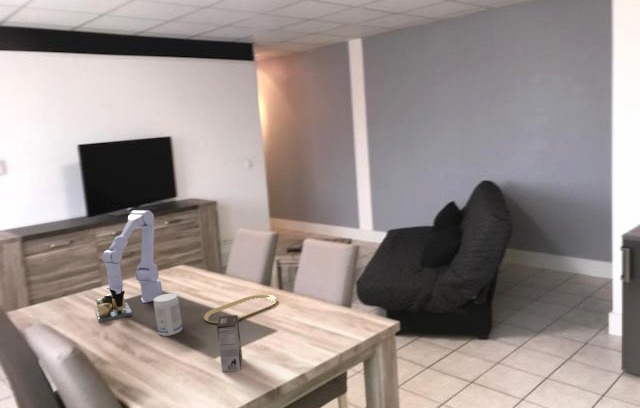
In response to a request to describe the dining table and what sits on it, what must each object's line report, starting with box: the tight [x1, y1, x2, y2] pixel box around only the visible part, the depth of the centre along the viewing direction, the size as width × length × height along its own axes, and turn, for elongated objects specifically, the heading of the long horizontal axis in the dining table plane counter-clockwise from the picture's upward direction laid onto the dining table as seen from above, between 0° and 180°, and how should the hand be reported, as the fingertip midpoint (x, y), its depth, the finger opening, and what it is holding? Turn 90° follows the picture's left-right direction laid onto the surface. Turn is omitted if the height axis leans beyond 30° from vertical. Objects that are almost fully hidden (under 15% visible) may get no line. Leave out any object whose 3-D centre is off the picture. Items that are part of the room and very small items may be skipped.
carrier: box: [94, 301, 133, 323], centre depth 233 cm, size 14×16×7 cm
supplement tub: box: [153, 293, 183, 337], centre depth 205 cm, size 10×10×15 cm
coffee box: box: [216, 314, 243, 373], centre depth 171 cm, size 9×6×16 cm
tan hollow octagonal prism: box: [112, 295, 126, 311], centre depth 231 cm, size 5×5×5 cm
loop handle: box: [203, 294, 278, 325], centre depth 225 cm, size 19×35×2 cm, turn 135°
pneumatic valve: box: [95, 292, 113, 307], centre depth 244 cm, size 6×12×12 cm
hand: (119, 304), depth 232 cm, fingers closed on tan hollow octagonal prism, 5 cm apart
